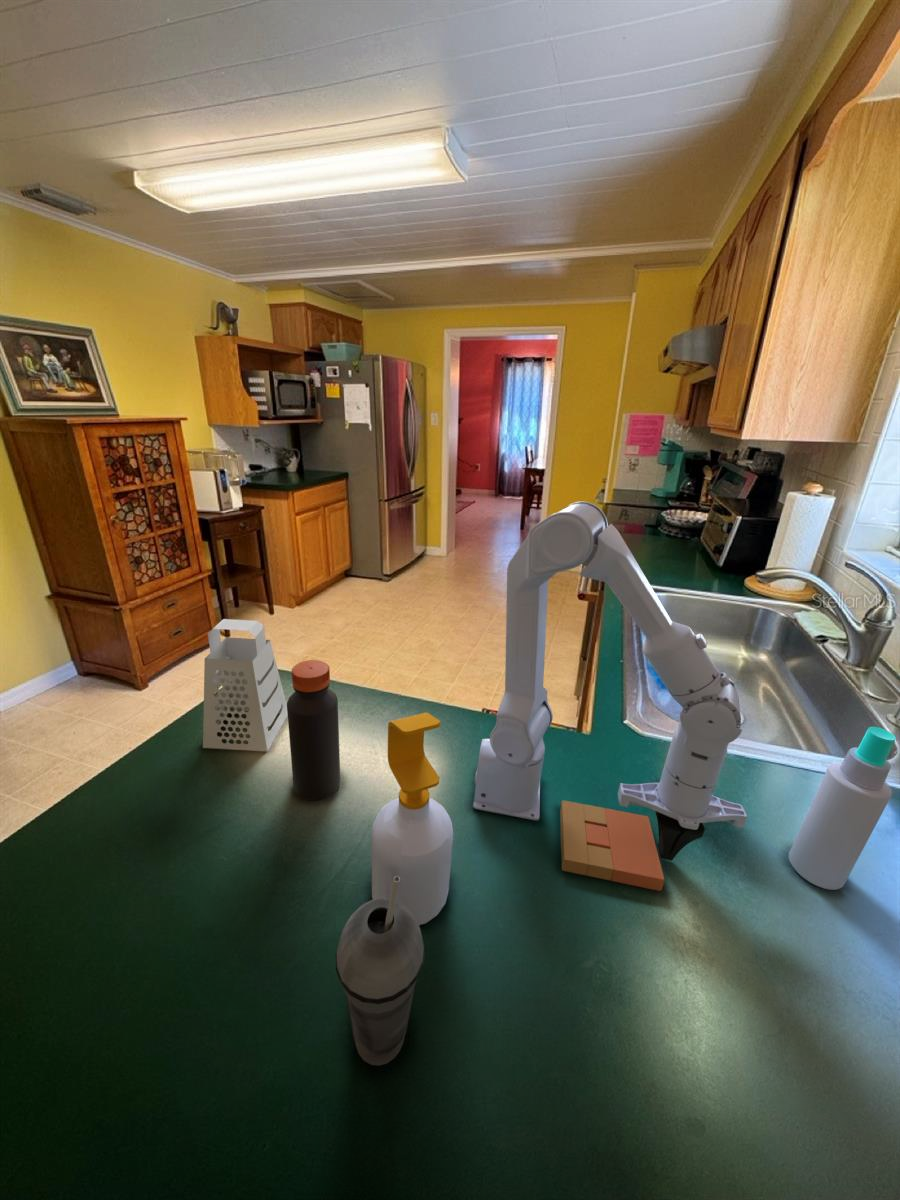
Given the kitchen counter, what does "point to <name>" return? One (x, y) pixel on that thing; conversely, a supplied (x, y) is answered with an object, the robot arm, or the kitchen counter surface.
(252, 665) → the grater
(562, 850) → the base pad
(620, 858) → the loose pad
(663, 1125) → the kitchen counter surface
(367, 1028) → the beverage cup
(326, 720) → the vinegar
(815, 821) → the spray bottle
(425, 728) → the soap bottle
